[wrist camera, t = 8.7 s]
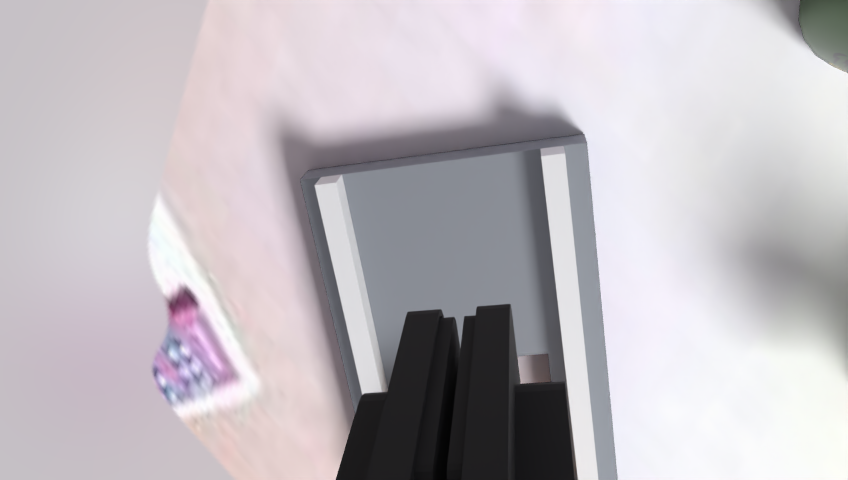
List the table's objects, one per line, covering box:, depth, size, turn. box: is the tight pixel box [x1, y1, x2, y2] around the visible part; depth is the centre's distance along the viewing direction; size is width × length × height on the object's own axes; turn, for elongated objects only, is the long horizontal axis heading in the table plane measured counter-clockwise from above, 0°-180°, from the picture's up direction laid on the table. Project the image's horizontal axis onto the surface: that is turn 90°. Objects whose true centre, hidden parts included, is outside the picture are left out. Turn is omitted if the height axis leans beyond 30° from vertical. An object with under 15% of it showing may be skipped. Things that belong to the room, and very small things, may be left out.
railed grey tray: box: [300, 134, 617, 480], centre depth 37 cm, size 20×13×4 cm, turn 10°
